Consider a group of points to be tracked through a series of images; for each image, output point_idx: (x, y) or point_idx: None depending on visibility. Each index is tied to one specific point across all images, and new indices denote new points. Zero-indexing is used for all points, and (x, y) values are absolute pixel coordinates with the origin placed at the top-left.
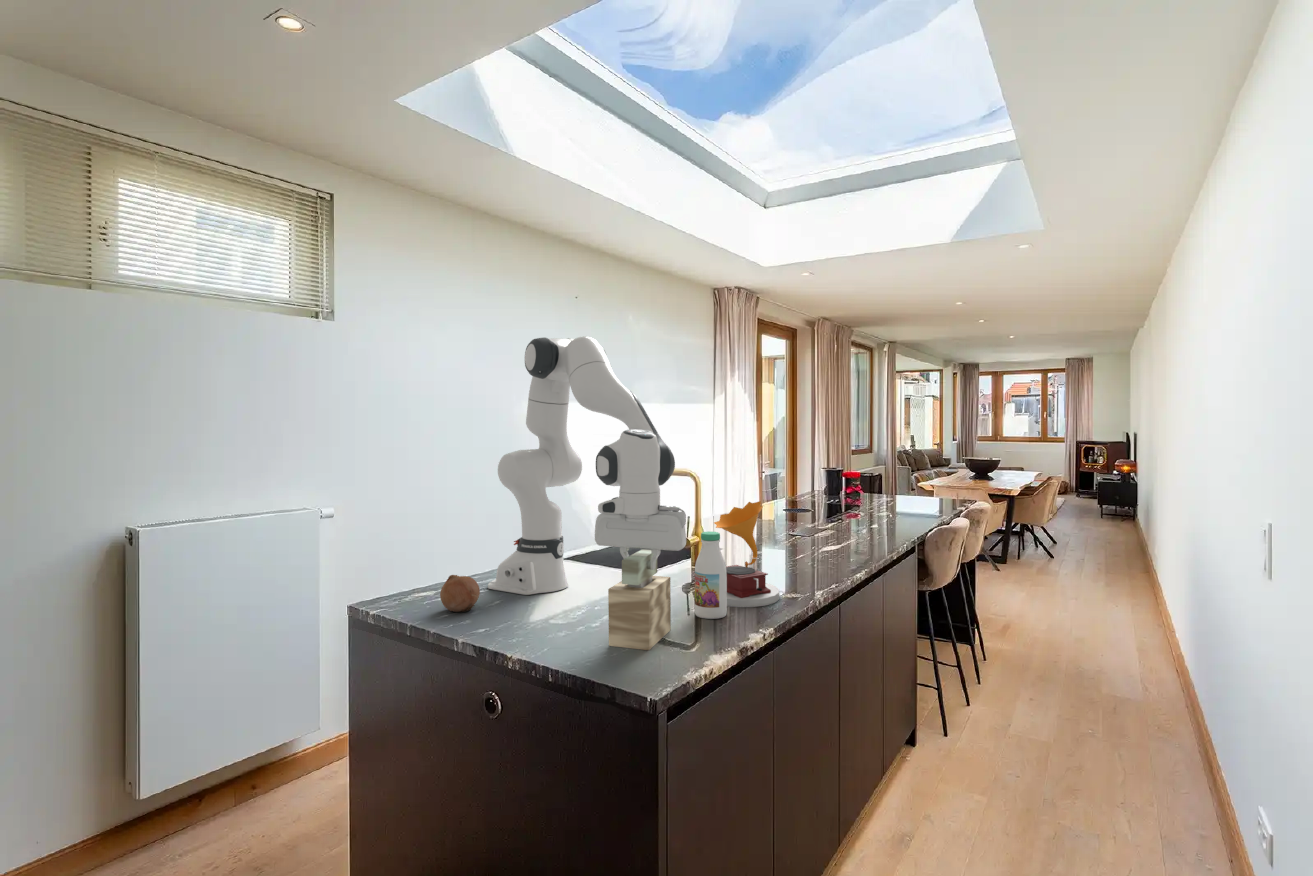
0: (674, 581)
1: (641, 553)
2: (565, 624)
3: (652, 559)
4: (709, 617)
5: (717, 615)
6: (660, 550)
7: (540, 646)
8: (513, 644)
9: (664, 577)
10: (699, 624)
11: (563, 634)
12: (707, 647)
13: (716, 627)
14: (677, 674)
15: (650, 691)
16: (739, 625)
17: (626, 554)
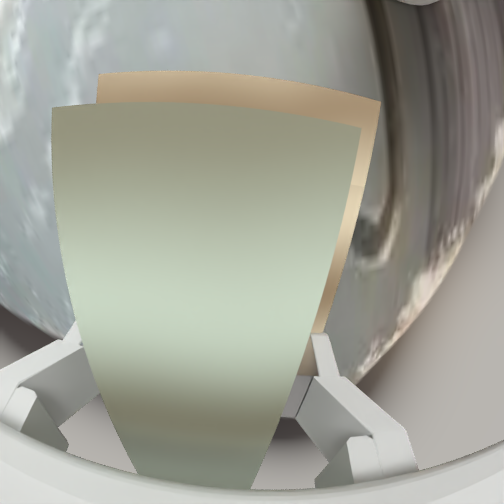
0: None
1: (168, 384)
2: (16, 142)
3: (318, 434)
4: (408, 3)
5: (430, 3)
6: (411, 447)
7: (51, 291)
8: (14, 288)
9: (344, 116)
10: (387, 43)
11: (43, 213)
12: (415, 233)
13: (433, 72)
14: (348, 367)
15: None
16: (477, 61)
17: (60, 397)
